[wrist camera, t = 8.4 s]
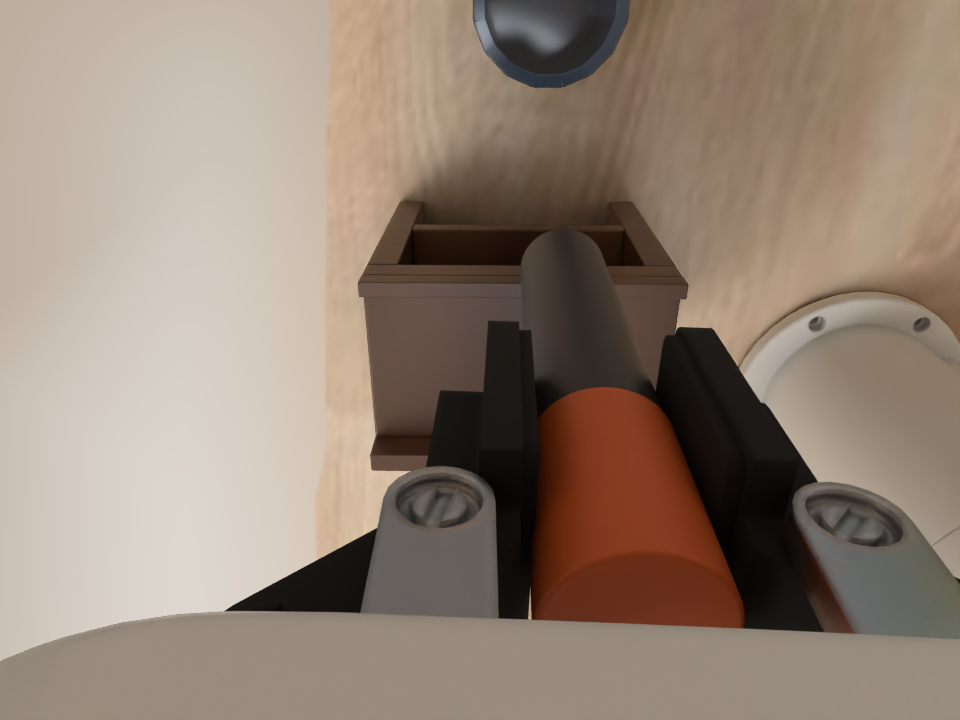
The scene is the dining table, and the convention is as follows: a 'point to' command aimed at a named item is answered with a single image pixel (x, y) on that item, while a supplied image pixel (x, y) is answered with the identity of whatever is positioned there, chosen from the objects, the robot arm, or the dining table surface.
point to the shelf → (481, 311)
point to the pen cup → (549, 37)
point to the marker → (609, 463)
